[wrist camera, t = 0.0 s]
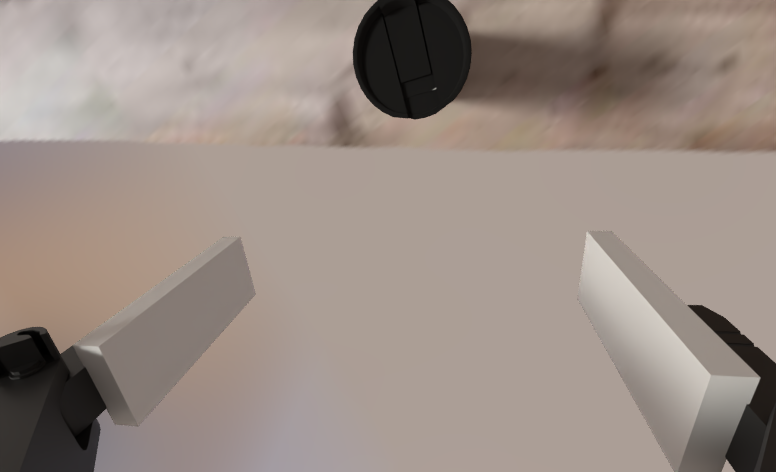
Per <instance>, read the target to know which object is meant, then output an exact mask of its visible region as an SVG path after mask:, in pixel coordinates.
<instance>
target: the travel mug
mask: <svg viewBox="0 0 776 472" xmlns="http://www.w3.org/2000/svg"><path fill="white" fill-rule="evenodd" d="M471 54H472V53H471V40H470V36H469V32H468V29H467V26H466V24H465V22H464V20H463V18H462V16H461V14H460V13H459V12H458V10H457V9H456V8H455V6H454V5H453V4H452V3H451V2H449V1H448V0H378V1H377V2H376V3H375V4H374V5H373V6H372V7H371V8H370V9H369V10H368V11H367V13H366V14H365V15H364V17H363V19H362V21H361V23H360V25H359V26H358V30H357V33H356V36H355V39H354V47H353V65H354V69H355V74H356V78H357V80H358V83H359V85H360V87H361V89H362V91H363V92H364V94H365V95H366V97H367V98H368V99H369V100H370V102H371V103H372V104H373V105H374V106H375V107H377V108H378V109H379V110H381V111H382V112H384V113H386V114H388V115H390V116H392V117H398V118H411V119H420V118H426V117H428V116H431V115H434V114H436V113H437V112H439V111H440V110H441V109H443V108H444V107H445V106H446V105H448V104H449V103H450V102H452V101H453V100H454V99H455V98H456V96H457V95H458V94H459V92H460V91H461V89H462V87H463V85H464V83H465V81H466V79H467V76H468V72H469V69H470V63H471Z"/></svg>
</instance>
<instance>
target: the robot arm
mask: <svg viewBox="0 0 776 472" xmlns="http://www.w3.org/2000/svg"><path fill="white" fill-rule="evenodd" d="M254 296H255V289H254V286H253V283H252V278H251V275H250V271H249V267H248V263H247V260H246V256H245V252H244V249H243V245H242V241H241V237H223V238H222V239H220V240H219V241H217V242H216V243H214V244H213V245H212V246H210V247H209V248H208V249H206V250H205V251H203V252H202V253H201V254H199V255H198V256H196V257H195V258H194V259H192V260H191V261H189V262H188V263H187V264H185V265H184V266H182V267H181V268H180V269H178V270H177V271H176V272H174V273H173V274H171V275H170V276H169V277H167V278H166V279H165V280H163V281H162V282H160V283H159V284H157V285H156V286H155V287H153V288H152V289H150V290H149V291H148V292H146V293H145V294H143V295H142V296H141V297H139V298H138V299H136V300H135V301H134V302H132V303H131V304H130V305H128V306H127V307H125V308H124V309H123V310H121V311H120V312H118V313H117V314H116V315H114V316H113V317H111V318H110V319H109V320H107V321H106V322H104V323H103V324H102V325H100V326H99V327H98V328H96V329H95V330H93V331H92V332H90V333H89V334H88V335H86V336H85V337H84V338H82V339H81V340H79V341H78V342H77V343H75V344H74V345H73V346H71V347H70V348H69V349H67V350H66V351H64V352H63V353H61V354H60V353H59V351H58V349H57V347H56V346H55V344H54V342H53V340H52V339H51V337H50V335H49V333H48V332H47V330H46V329H45V328H43V327H31V328H26V329H22V330H19V331H16V332H13V333H10V334H7V335H5V336H3V337H1V338H0V472H94V466H95V460H96V454H97V448H98V441H99V436H100V424H99V423H98V421H97V419H96V418H97V417H98V416H99V415H100V414H101V413H102V412H103V411H104V410H105V409H107V410H108V413H109V414H110V416H111V418H112V420H113V422H114V423H115V424H117V425H129V426H139V425H140V424H141V423H142V422H143V421H144V420H145V418H146V417H147V416H148V415H149V414H150V413H151V412H152V411H153V410H154V408H155V407H156V406H157V405H158V404H159V403H160V402H161V401H162V399H163V398H164V397H165V396H166V395H167V393H169V392H170V390H171V389H172V388H173V387H174V386H175V385H176V384H177V382H178V381H179V380H180V379H181V378H182V377H183V376H184V375H185V373H186V372H187V371H188V370H189V369H190V368H191V367H192V365H193V364H194V363H195V362H196V361H197V360H198V359H199V358H200V357H201V355H202V354H203V353H204V352H205V351H206V350H207V349H208V347H209V346H210V345H211V344H212V343H213V342H214V341H215V339H216V338H217V337H218V336H219V335H220V334H221V333H222V332H223V331H224V329H225V328H226V327H227V326H228V325H229V324H230V323H231V322H232V320H233V319H234V318H235V317H236V316H237V315H238V314H239V312H240V311H241V310H242V309H243V308H244V307H245V306H246V305H247V303H248V302H249V301H250V300H251V299H252V298H253V297H254ZM578 301H579V302H580V304H581V306H582V308H583V310H584V311H585V313H586V315H587V317H588V318H589V320H590V322H591V324H592V326H593V327H594V329H595V331H596V333H597V334H598V336H599V338H600V340H601V342H602V344H603V345H604V347H605V349H606V351H607V352H608V354H609V356H610V358H611V360H612V361H613V363H614V365H615V367H616V369H617V370H618V372H619V374H620V376H621V377H622V379H623V381H624V383H625V384H626V386H627V388H628V390H629V392H630V393H631V395H632V397H633V399H634V401H635V402H636V404H637V406H638V408H639V410H640V411H641V413H642V415H643V417H644V418H645V420H646V422H647V424H648V426H649V428H650V429H651V431H652V433H653V434H654V436H655V438H656V440H657V442H658V444H659V445H660V447H661V449H662V451H663V453H664V454H665V456H666V458H667V460H668V461H669V463H670V465H671V467H672V469H673V470H674V472H721V471H722V469H723V466H724V464H725V462H726V459H727V460H728V461H729V463H730V464H731V466H732V467H733V469H734V470H735V472H776V363H775V362H773V361H772V360H771V359H770V358H769V357H768V356H767V355H766V354H765V353H764V352H762V351H761V350H760V349H759V348H758V347H754V343H752V342H751V341H750V340H749V339H748V338H747V337H746V336H745V335H741V334H740V331H739V330H738V329H737V328H735V327H734V326H733V325H732V324H731V323H730V322H729V321H728V320H727V319H726V318H724V317H723V316H721V315H719V314H717V313H715V312H713V311H711V310H710V309H708V308H706V307H704V306H702V305H686V304H685V303H684V302H683V301H682V300H681V299H680V298H679V297H678V296H677V295H676V294H675V293H674V292H673V291H672V290H671V289H670V288H669V287H668V286H667V285H666V284H665V283H664V282H663V281H662V280H661V279H660V278H659V277H658V276H657V275H656V274H655V273H654V272H653V271H652V270H651V269H650V268H649V267H648V266H647V265H646V264H645V263H644V262H643V261H641V259H639V258H638V257H637V256H636V255H635V254H634V253H633V252H632V251H631V250H630V249H629V248H628V247H627V246H626V245H625V244H624V243H623V242H622V241H621V240H620V239H619V238H618V237H617V236H616V235H615V234H614V233H613V232H612V231H588V232H587V237H586V243H585V250H584V257H583V264H582V271H581V279H580V286H579V293H578Z"/></svg>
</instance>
